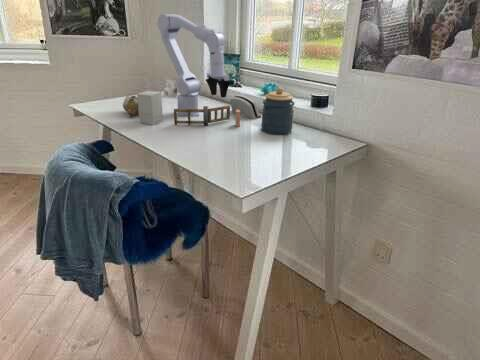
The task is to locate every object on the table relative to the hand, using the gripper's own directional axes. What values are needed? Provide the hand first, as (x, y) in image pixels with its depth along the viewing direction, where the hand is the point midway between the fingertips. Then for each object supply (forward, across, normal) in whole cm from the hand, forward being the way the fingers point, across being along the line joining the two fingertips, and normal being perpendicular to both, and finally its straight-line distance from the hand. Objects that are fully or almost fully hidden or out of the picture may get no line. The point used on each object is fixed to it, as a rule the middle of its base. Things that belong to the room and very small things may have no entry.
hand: (218, 96), depth 155 cm
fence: (+10, 0, +15) cm, 19 cm away
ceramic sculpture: (+8, +28, +28) cm, 41 cm away
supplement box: (+9, +13, +27) cm, 31 cm away
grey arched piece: (+11, +2, -15) cm, 19 cm away
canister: (+13, -24, -12) cm, 30 cm away
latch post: (+12, -11, -2) cm, 16 cm away
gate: (+10, -3, +3) cm, 11 cm away
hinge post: (+11, -3, +10) cm, 15 cm away
